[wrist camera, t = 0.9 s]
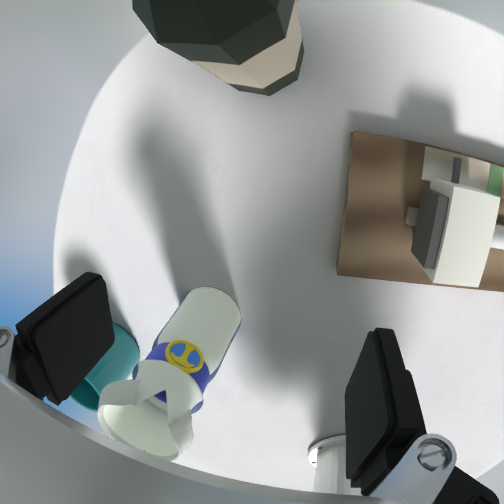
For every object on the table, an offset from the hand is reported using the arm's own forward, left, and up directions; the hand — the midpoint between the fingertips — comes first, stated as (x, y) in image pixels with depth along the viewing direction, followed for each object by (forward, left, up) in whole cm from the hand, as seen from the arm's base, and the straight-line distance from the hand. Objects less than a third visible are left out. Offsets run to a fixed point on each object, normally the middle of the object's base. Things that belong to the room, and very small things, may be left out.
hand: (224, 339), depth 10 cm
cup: (-22, +24, -22) cm, 40 cm away
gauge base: (+1, -22, -22) cm, 31 cm away
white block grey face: (+2, -18, -19) cm, 26 cm away
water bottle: (-14, +8, -22) cm, 28 cm away
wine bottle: (+15, +3, -22) cm, 27 cm away
